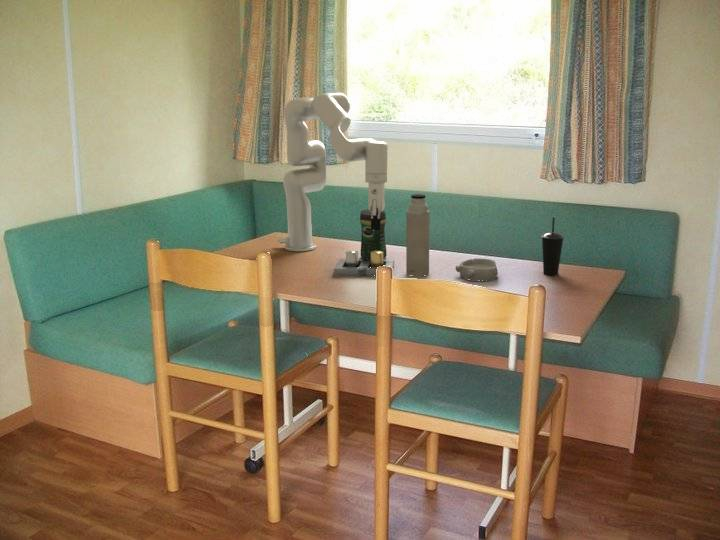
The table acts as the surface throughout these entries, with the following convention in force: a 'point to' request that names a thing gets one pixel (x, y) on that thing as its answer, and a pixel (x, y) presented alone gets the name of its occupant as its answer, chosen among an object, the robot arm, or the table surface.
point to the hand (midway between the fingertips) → (375, 229)
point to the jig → (361, 271)
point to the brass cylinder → (376, 259)
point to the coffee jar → (372, 235)
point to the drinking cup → (551, 251)
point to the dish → (478, 269)
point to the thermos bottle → (417, 236)
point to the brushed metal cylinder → (352, 258)
